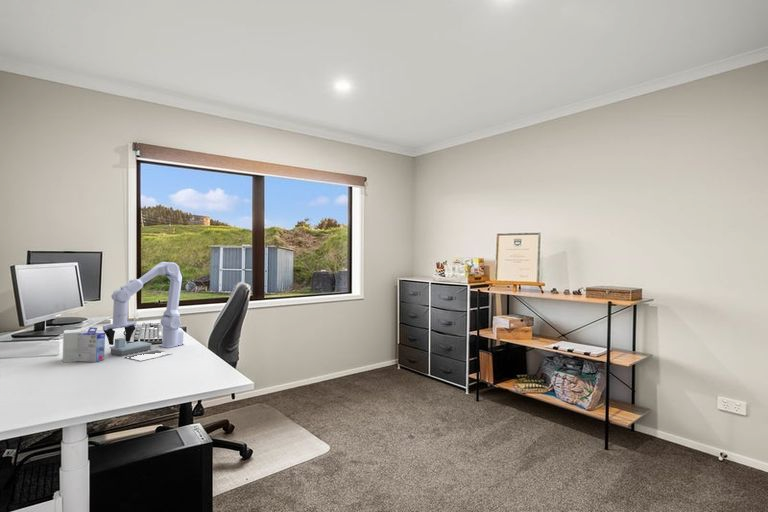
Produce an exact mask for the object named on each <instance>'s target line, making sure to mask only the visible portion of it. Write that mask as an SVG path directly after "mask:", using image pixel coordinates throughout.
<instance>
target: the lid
mask: <svg viewBox="0 0 768 512" xmlns="http://www.w3.org/2000/svg"><path fill="white" fill-rule="evenodd" d="M150 345H151V346H152V345H153V343H151V342H146V341H142V340H141V341H140V340H138V341H133V342H127V343H126V340H125V338H124V337H119V338H115V339H114V345H112V346H111V345H110V346H109V349H110V350H111V349H115V350H119V351H125V350H130V349H135V348H140V347H145V346H150Z"/></svg>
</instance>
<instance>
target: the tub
mask: <svg viewBox="0 0 768 512" xmlns="http://www.w3.org/2000/svg"><path fill="white" fill-rule="evenodd" d="M151 347H152V345H150V346H145V347H140V348H135V349H130V350H125V351H119V350H115V349H110V354H111V355H116V356H119V355H120V356H119V357H125V356H129V355H128V354H130V355H134V354H133V353H135V354H139V353H144V352H149V351H152V348H151ZM148 350H149V351H148ZM143 351H144V352H143ZM138 352H139V353H138ZM124 355H125V356H124Z"/></svg>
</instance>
